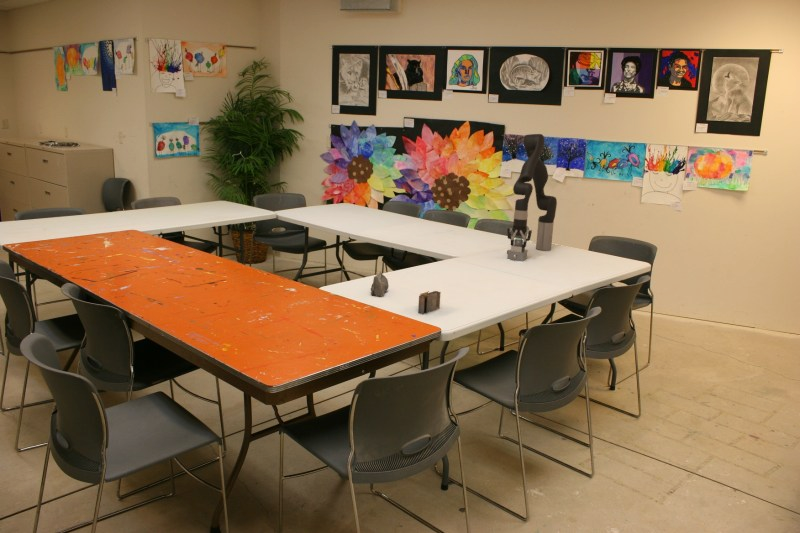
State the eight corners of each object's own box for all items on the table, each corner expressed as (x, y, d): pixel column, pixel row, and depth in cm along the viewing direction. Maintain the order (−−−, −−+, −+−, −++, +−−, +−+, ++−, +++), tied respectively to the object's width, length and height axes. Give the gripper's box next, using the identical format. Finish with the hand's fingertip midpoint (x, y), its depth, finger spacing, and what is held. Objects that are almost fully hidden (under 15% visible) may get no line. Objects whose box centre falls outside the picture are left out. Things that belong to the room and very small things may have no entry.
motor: (508, 256, 392) (509, 242, 390) (526, 258, 388) (528, 244, 386) (503, 259, 381) (504, 245, 379) (521, 262, 377) (523, 248, 375)
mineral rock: (383, 288, 309) (384, 267, 306) (399, 293, 301) (400, 272, 299) (362, 292, 300) (363, 271, 298) (378, 298, 292) (379, 275, 290)
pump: (514, 249, 387) (515, 237, 385) (523, 250, 385) (524, 238, 384) (512, 250, 383) (513, 238, 381) (521, 251, 381) (522, 239, 379)
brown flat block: (424, 315, 272) (425, 292, 270) (418, 313, 274) (419, 290, 271) (440, 310, 281) (441, 287, 278) (434, 308, 282) (435, 286, 280)
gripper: (534, 218, 380) (532, 247, 384) (509, 215, 386) (507, 244, 390) (531, 220, 374) (529, 249, 377) (506, 217, 379) (504, 246, 383)
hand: (518, 246), depth 383 cm, fingers open, 6 cm apart
